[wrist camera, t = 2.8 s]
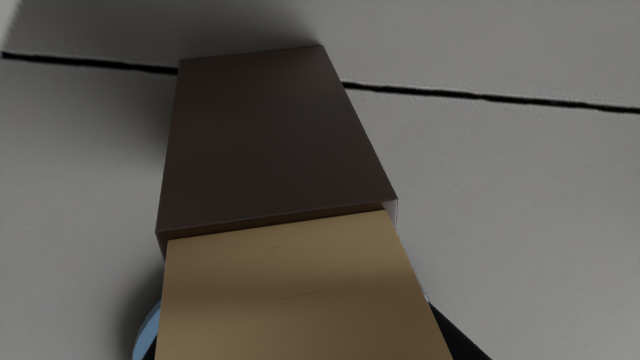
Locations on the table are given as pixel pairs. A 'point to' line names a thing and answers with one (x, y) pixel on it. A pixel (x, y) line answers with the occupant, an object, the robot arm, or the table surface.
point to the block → (296, 295)
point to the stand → (265, 147)
